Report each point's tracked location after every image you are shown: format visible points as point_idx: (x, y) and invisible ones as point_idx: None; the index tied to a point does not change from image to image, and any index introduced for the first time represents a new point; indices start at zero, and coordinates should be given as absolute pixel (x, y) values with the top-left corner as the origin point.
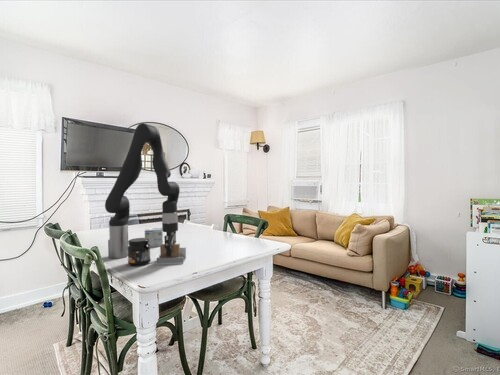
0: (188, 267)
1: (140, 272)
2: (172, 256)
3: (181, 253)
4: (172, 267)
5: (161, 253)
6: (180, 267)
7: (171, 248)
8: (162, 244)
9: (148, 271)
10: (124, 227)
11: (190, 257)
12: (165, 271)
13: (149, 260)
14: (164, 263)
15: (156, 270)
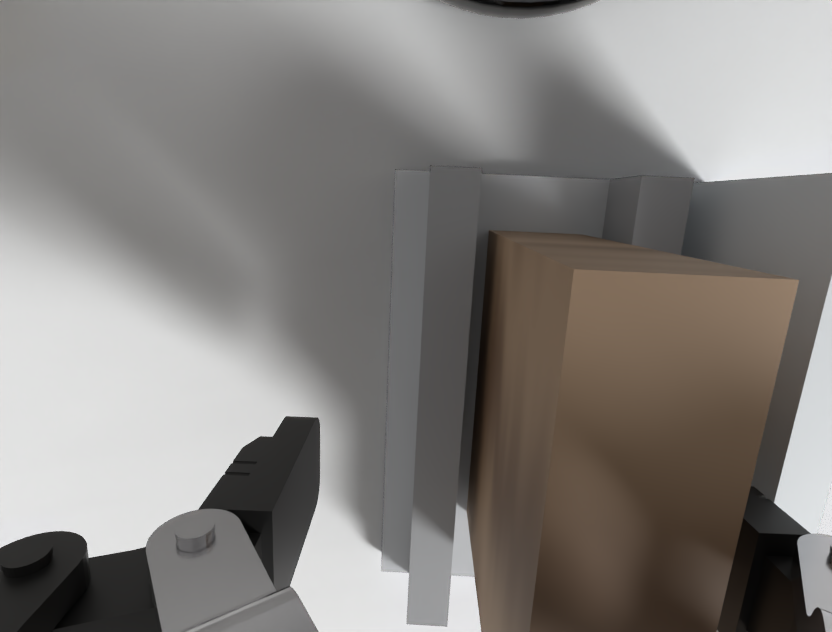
0: None
1: (10, 5)
2: (481, 461)
3: None
4: (239, 443)
5: (509, 265)
6: None
7: (510, 561)
8: (736, 323)
9: (62, 131)
10: None
11: None
12: (71, 381)
13: (485, 5)
14: (390, 310)
15: (110, 246)
